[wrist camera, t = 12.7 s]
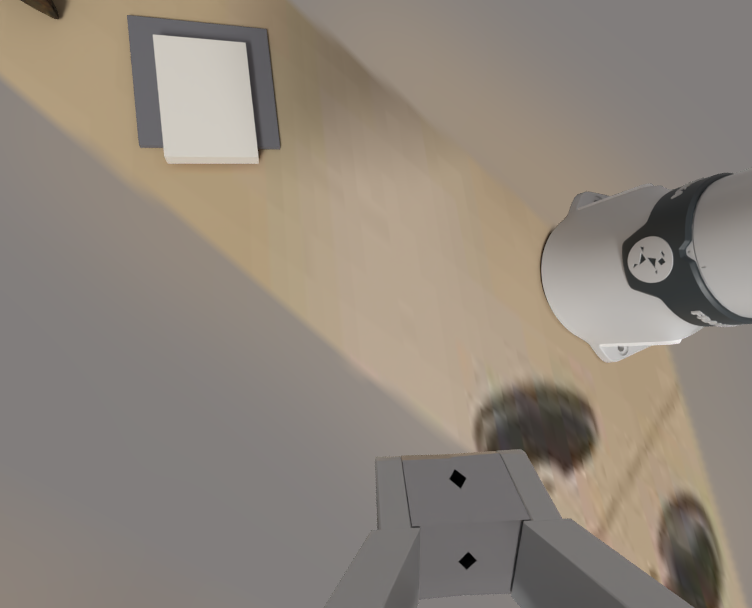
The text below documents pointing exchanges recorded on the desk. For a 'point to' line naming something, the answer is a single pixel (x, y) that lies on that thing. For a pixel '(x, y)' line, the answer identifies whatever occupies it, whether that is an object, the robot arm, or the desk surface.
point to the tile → (205, 101)
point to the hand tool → (44, 7)
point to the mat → (147, 26)
